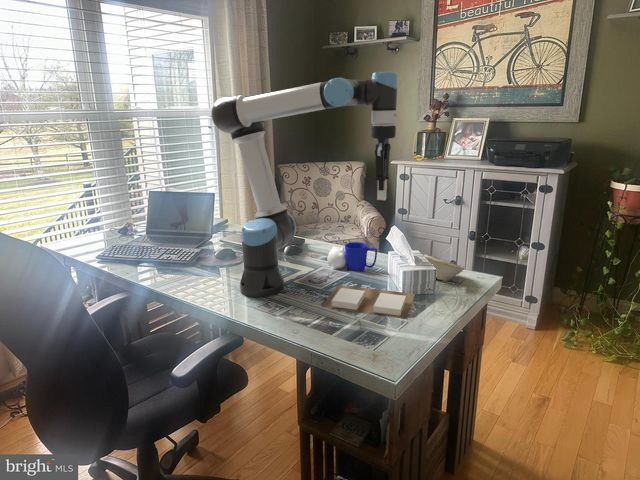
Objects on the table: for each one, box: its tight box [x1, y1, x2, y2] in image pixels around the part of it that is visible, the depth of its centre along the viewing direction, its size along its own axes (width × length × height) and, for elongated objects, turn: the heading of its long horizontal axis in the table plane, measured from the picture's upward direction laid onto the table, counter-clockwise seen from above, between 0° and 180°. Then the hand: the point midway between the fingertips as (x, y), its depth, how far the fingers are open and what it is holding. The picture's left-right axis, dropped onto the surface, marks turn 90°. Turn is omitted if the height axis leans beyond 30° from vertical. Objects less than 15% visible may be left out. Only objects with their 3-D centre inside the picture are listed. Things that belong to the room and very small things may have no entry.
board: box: [321, 284, 416, 319], centre depth 141 cm, size 26×18×1 cm
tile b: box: [373, 293, 406, 316], centre depth 135 cm, size 8×2×10 cm
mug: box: [344, 241, 378, 273], centre depth 167 cm, size 8×12×10 cm
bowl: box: [422, 253, 465, 282], centre depth 158 cm, size 15×14×10 cm
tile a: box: [332, 288, 365, 310], centre depth 140 cm, size 8×2×10 cm
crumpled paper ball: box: [326, 245, 346, 271], centre depth 172 cm, size 9×11×12 cm
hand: (381, 199), depth 146 cm, fingers closed
